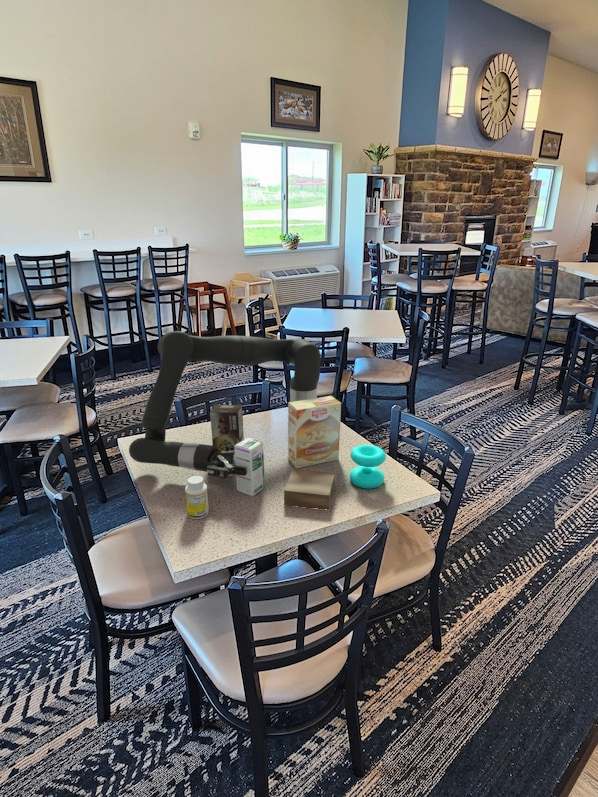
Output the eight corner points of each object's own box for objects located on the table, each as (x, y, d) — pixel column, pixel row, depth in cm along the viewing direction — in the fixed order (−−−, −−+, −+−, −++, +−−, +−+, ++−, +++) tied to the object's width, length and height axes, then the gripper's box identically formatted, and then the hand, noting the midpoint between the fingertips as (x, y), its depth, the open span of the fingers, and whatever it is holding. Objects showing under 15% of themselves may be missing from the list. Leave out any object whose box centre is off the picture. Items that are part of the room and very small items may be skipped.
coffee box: (244, 450, 162) (243, 404, 156) (240, 459, 156) (238, 412, 150) (217, 449, 163) (214, 403, 157) (212, 458, 157) (209, 411, 151)
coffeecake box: (296, 469, 151) (296, 409, 144) (287, 458, 157) (287, 401, 150) (339, 459, 156) (342, 402, 149) (329, 450, 162) (331, 394, 155)
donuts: (344, 452, 139) (361, 439, 147) (343, 483, 143) (359, 469, 151) (376, 462, 134) (392, 448, 142) (374, 494, 138) (389, 479, 145)
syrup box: (253, 496, 136) (251, 449, 131) (236, 490, 139) (233, 444, 134) (265, 487, 141) (264, 441, 135) (248, 481, 144) (246, 436, 138)
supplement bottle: (194, 506, 132) (192, 472, 128) (213, 510, 130) (210, 476, 126) (182, 517, 127) (179, 482, 123) (201, 522, 125) (198, 487, 121)
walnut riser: (293, 483, 143) (293, 468, 142) (334, 488, 141) (335, 472, 139) (284, 506, 132) (284, 490, 131) (328, 511, 130) (329, 495, 128)
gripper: (185, 456, 133) (242, 464, 129) (207, 434, 146) (260, 441, 142) (187, 481, 136) (243, 489, 132) (209, 457, 148) (260, 464, 145)
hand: (251, 464), depth 137 cm, fingers open, 8 cm apart
